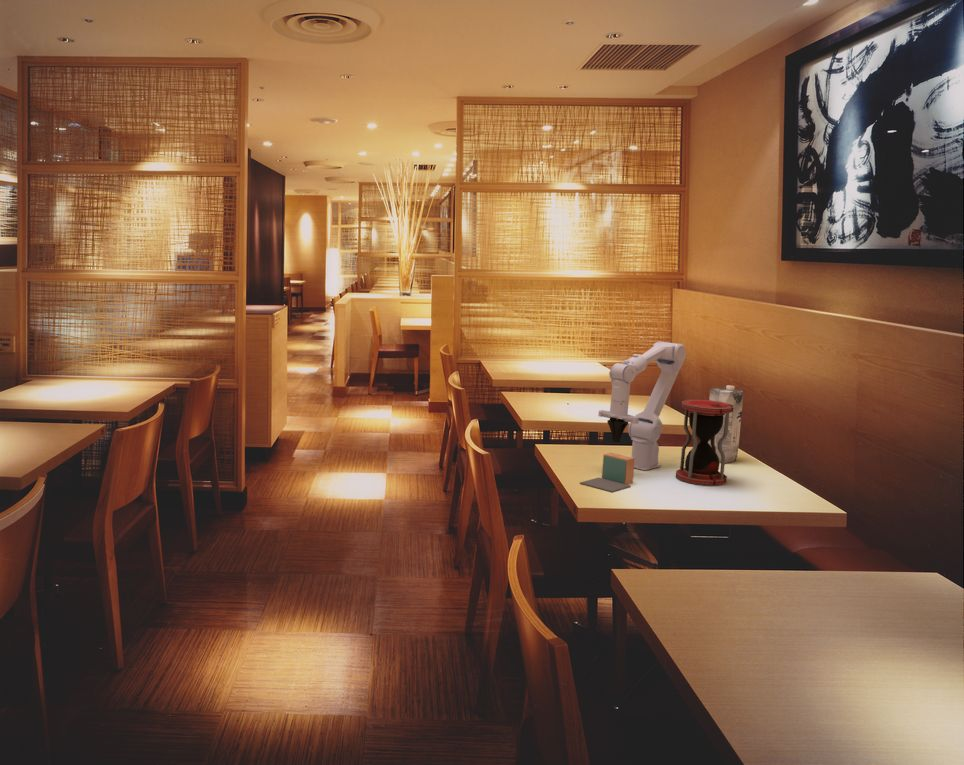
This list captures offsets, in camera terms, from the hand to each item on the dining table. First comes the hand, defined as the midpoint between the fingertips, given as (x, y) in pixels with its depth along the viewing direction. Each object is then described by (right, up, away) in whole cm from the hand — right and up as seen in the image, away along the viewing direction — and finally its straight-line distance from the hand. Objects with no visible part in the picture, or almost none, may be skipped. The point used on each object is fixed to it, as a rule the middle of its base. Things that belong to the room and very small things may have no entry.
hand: (616, 441), depth 275 cm
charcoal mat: (-6, -12, -15) cm, 20 cm away
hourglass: (+27, -12, -1) cm, 30 cm away
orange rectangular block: (-1, -12, -8) cm, 14 cm away
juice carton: (+42, -9, +27) cm, 51 cm away
